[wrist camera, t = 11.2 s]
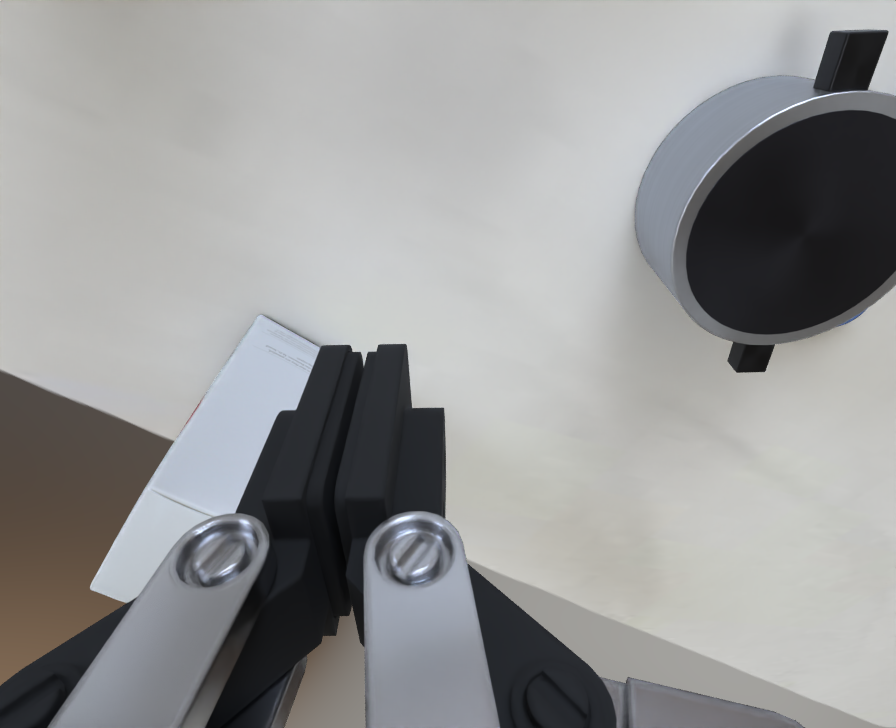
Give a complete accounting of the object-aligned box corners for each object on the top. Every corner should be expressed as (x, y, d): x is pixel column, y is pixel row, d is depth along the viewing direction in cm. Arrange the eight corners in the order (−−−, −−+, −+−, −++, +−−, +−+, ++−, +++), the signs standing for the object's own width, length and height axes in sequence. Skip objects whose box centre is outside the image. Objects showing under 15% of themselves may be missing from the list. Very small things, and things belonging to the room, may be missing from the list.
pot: (663, 32, 25) (716, 38, 20) (920, 22, 25) (1040, 25, 20) (615, 325, 34) (644, 380, 29) (804, 320, 34) (866, 374, 29)
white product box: (258, 308, 33) (143, 484, 21) (378, 377, 36) (340, 568, 24) (203, 399, 37) (80, 592, 25) (315, 454, 40) (254, 652, 28)
